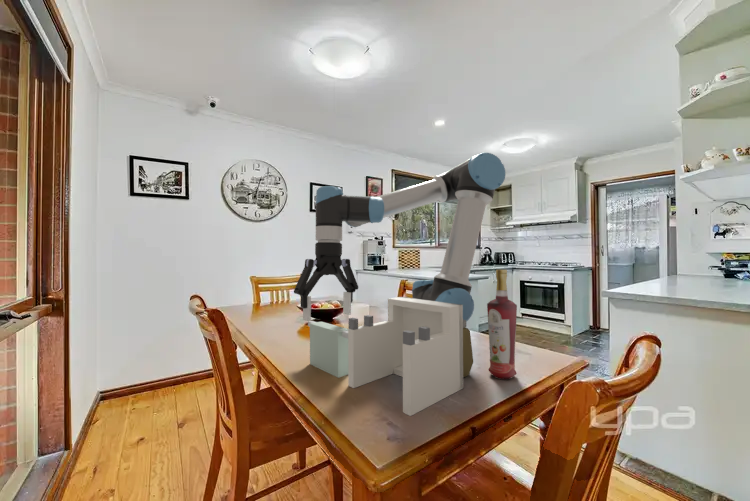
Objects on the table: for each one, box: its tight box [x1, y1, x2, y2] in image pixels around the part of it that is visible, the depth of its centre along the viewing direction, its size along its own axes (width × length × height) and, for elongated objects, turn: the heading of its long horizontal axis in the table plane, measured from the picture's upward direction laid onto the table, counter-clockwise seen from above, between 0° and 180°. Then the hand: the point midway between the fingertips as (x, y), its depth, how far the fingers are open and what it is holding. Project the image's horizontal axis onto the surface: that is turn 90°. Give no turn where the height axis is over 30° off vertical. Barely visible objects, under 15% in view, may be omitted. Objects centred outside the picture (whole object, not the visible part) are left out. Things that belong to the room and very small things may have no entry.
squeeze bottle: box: [463, 320, 474, 378], centre depth 86 cm, size 8×8×18 cm
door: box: [307, 320, 349, 378], centre depth 90 cm, size 4×20×12 cm, turn 43°
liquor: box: [486, 269, 518, 380], centre depth 84 cm, size 7×7×28 cm
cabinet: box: [347, 296, 464, 417], centre depth 77 cm, size 19×20×20 cm
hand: (327, 317), depth 90 cm, fingers open, 13 cm apart
